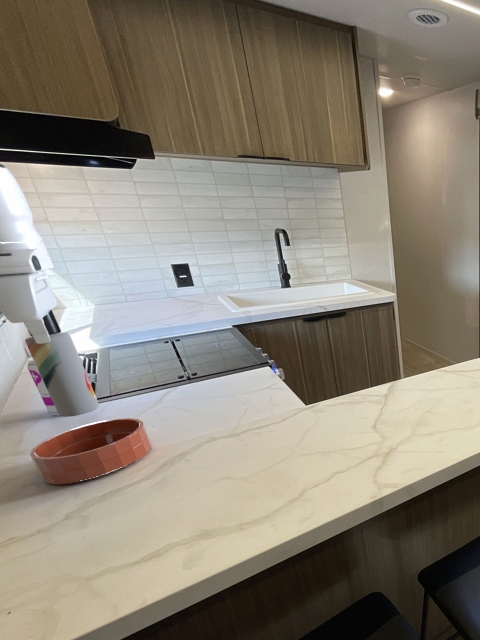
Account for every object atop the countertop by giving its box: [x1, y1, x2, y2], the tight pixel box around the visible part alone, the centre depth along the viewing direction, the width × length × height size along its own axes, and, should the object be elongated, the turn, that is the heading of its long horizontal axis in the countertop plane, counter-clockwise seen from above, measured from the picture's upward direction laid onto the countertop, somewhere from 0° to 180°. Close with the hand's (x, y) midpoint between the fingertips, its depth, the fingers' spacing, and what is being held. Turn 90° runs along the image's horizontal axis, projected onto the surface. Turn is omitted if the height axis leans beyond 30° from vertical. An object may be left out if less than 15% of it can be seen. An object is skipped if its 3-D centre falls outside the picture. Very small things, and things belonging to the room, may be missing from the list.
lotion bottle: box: [24, 309, 100, 418], centre depth 75 cm, size 6×6×20 cm
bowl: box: [29, 417, 152, 485], centre depth 81 cm, size 16×16×6 cm
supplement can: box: [26, 357, 60, 416], centre depth 105 cm, size 8×8×15 cm
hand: (47, 338), depth 73 cm, fingers closed on lotion bottle, 5 cm apart
